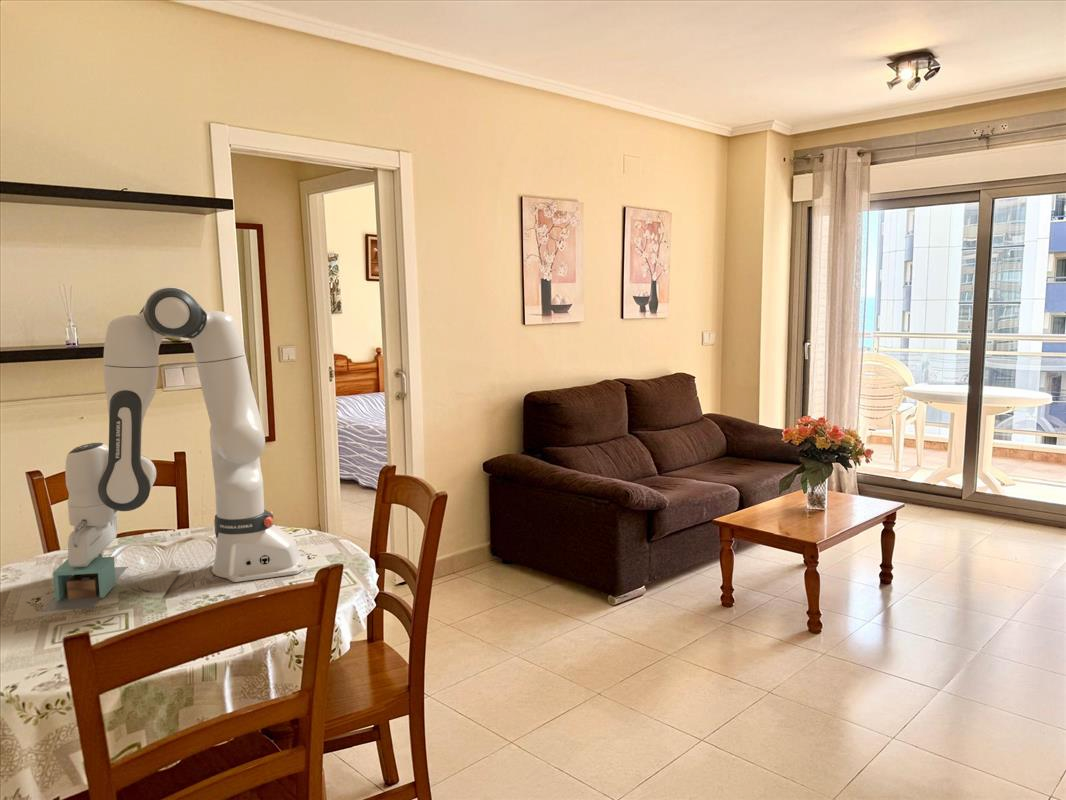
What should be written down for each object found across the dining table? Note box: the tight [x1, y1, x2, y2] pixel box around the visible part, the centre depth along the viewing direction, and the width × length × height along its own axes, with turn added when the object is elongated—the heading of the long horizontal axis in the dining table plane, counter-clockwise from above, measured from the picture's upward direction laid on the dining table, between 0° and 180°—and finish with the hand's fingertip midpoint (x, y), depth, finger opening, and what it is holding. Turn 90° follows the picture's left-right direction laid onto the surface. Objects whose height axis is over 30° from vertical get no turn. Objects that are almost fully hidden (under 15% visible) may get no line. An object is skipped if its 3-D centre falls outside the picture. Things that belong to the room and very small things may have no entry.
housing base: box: [41, 566, 129, 612], centre depth 171 cm, size 10×24×4 cm, turn 12°
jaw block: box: [67, 573, 100, 599], centre depth 167 cm, size 6×6×4 cm
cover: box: [52, 556, 117, 601], centre depth 167 cm, size 10×8×6 cm
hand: (95, 571), depth 173 cm, fingers closed
